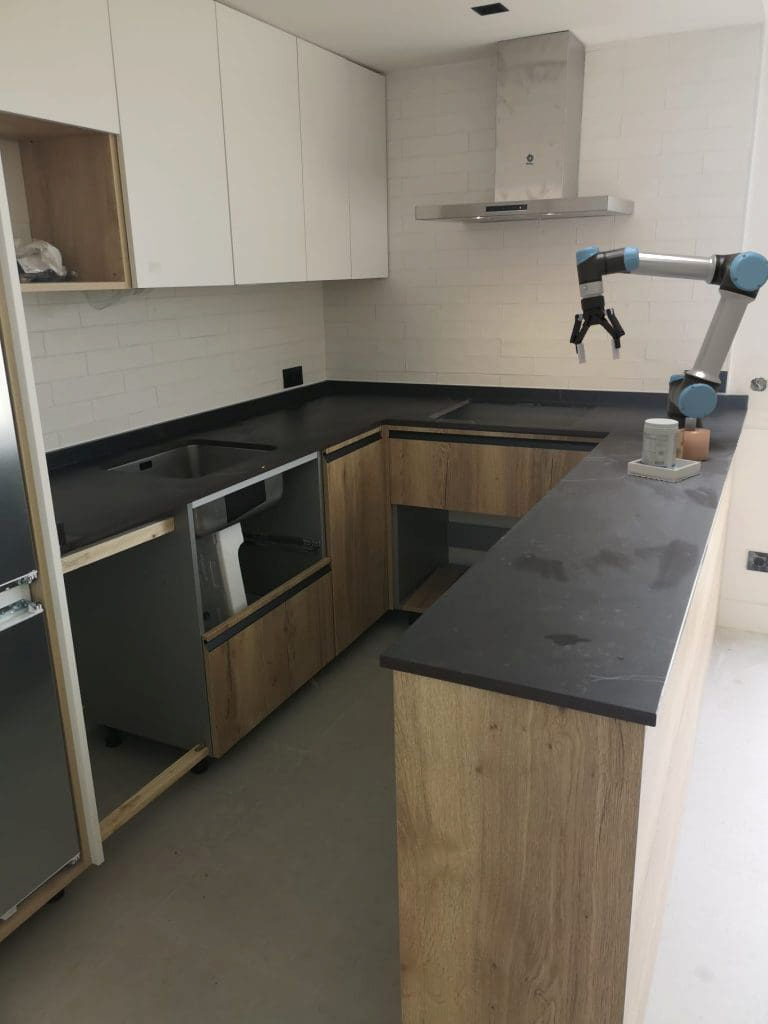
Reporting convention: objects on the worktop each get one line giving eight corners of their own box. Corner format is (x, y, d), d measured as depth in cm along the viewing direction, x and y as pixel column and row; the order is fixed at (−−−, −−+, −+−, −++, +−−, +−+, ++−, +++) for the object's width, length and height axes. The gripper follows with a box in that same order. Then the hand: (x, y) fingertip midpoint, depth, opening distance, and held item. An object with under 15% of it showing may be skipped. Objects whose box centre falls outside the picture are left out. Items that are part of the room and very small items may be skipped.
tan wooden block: (676, 459, 255) (678, 426, 252) (681, 460, 254) (685, 427, 251) (656, 466, 248) (659, 432, 245) (662, 467, 246) (665, 433, 243)
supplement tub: (656, 465, 244) (661, 417, 240) (681, 471, 236) (686, 421, 232) (633, 468, 240) (637, 419, 236) (658, 475, 232) (662, 424, 228)
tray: (653, 465, 248) (653, 454, 247) (699, 473, 237) (700, 462, 236) (627, 474, 238) (627, 462, 237) (674, 482, 228) (675, 470, 227)
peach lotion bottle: (686, 453, 264) (689, 414, 260) (712, 457, 257) (716, 417, 254) (672, 458, 258) (676, 418, 254) (699, 462, 251) (703, 421, 248)
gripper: (554, 303, 272) (562, 366, 276) (617, 291, 252) (625, 358, 256) (568, 301, 276) (575, 363, 280) (631, 289, 257) (638, 355, 261)
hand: (599, 361), depth 268 cm, fingers open, 13 cm apart
